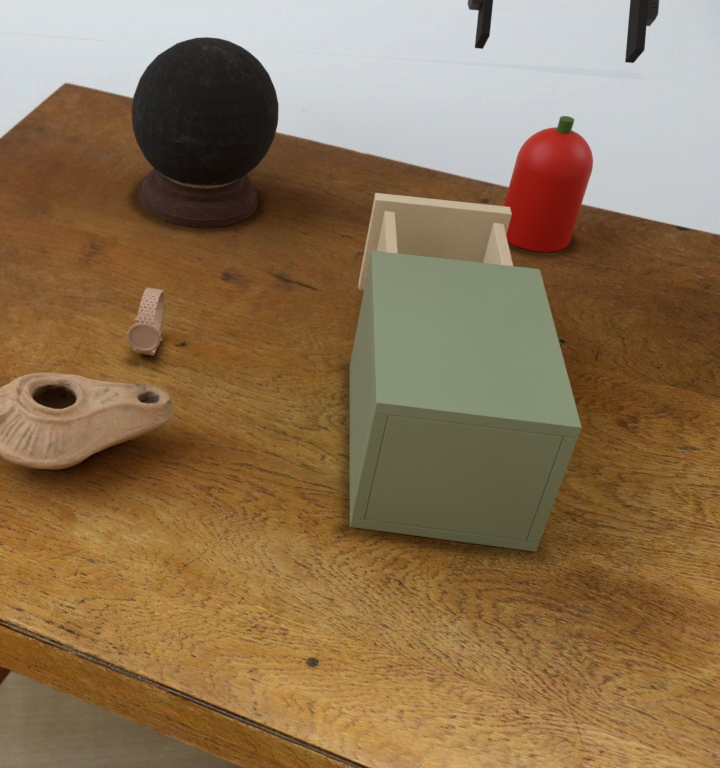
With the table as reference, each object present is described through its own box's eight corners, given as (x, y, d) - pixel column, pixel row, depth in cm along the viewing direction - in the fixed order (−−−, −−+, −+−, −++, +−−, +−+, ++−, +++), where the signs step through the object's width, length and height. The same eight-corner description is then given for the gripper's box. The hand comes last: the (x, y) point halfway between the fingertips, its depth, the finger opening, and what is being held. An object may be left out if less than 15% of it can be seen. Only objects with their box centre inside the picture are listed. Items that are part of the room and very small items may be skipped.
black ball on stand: (271, 237, 99) (291, 75, 90) (124, 228, 99) (130, 66, 90) (264, 170, 110) (282, 20, 101) (131, 162, 110) (137, 11, 101)
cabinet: (349, 365, 84) (371, 250, 78) (505, 384, 83) (539, 268, 77) (349, 527, 70) (376, 402, 64) (536, 552, 69) (581, 427, 63)
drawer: (358, 250, 96) (374, 163, 91) (479, 263, 95) (502, 176, 90) (359, 403, 79) (379, 305, 74) (508, 421, 78) (538, 324, 73)
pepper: (563, 221, 104) (598, 107, 97) (574, 255, 99) (612, 138, 92) (494, 214, 104) (524, 100, 98) (501, 247, 99) (533, 130, 93)
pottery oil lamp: (188, 473, 73) (162, 425, 67) (17, 517, 75) (-24, 474, 69) (167, 362, 78) (141, 308, 72) (6, 406, 79) (-33, 357, 73)
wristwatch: (125, 362, 83) (127, 306, 80) (139, 328, 87) (142, 273, 84) (160, 368, 83) (164, 312, 80) (173, 333, 86) (177, 278, 83)
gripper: (450, -202, 101) (426, 17, 98) (733, -181, 99) (717, 43, 96) (435, -151, 109) (412, 53, 106) (698, -130, 106) (682, 79, 104)
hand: (557, 49), depth 101 cm, fingers open, 13 cm apart
